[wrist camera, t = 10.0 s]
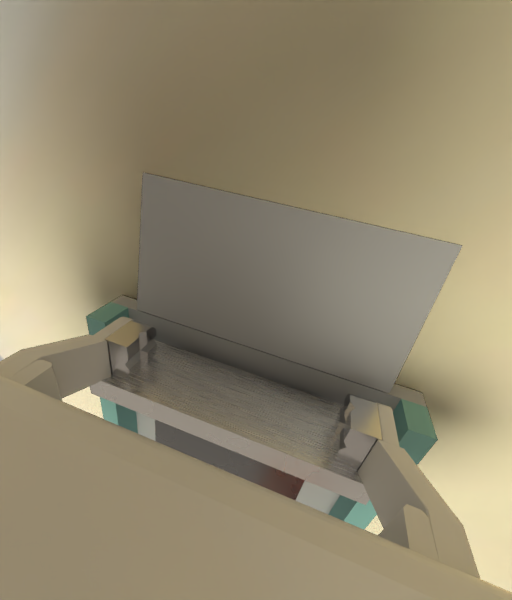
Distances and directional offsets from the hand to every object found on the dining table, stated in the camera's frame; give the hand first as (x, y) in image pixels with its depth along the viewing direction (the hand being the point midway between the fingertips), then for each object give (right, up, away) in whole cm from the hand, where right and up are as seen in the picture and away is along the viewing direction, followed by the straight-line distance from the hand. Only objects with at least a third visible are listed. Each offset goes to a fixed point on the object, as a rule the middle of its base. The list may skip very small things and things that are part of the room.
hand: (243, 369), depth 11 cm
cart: (-1, -4, +4) cm, 6 cm away
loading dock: (0, -2, +4) cm, 5 cm away
